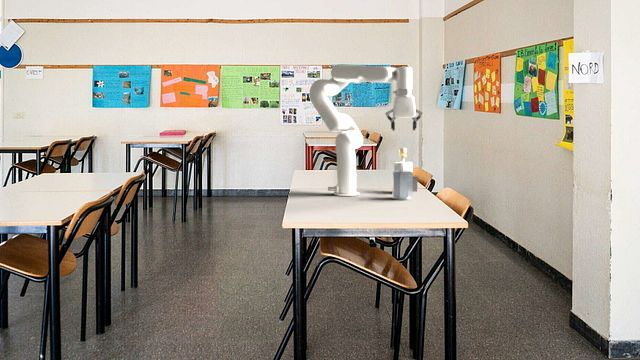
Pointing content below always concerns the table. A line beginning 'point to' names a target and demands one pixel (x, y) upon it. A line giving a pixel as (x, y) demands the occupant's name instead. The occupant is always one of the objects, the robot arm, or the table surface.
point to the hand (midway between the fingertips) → (403, 130)
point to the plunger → (402, 157)
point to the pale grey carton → (404, 185)
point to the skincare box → (406, 166)
